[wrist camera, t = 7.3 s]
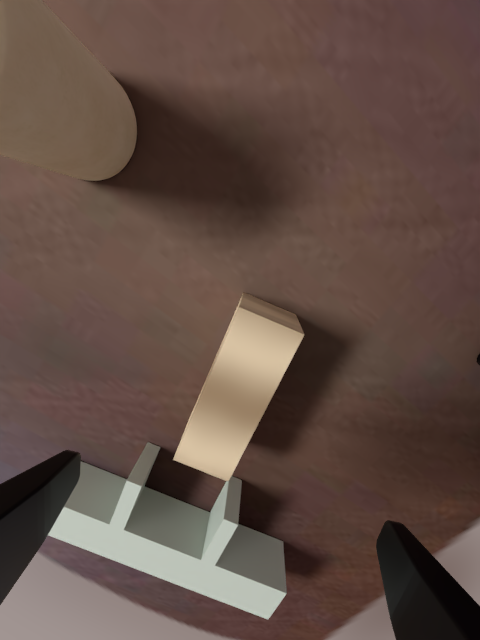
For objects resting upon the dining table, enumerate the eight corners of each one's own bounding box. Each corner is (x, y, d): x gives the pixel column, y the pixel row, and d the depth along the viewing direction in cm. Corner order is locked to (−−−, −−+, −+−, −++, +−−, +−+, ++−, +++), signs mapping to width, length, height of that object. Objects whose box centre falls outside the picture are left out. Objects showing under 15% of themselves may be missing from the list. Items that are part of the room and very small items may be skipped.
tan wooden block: (234, 436, 21) (228, 481, 17) (189, 418, 21) (173, 459, 17) (295, 313, 18) (304, 334, 14) (243, 291, 18) (238, 306, 14)
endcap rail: (306, 506, 22) (314, 555, 19) (267, 565, 24) (268, 619, 21) (80, 414, 21) (45, 448, 18) (59, 484, 23) (24, 526, 20)
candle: (159, 124, 16) (-4, -51, 6) (99, 203, 17) (-110, 163, 7) (77, 39, 15) (-258, -316, 5) (21, 129, 16) (-325, -23, 7)
